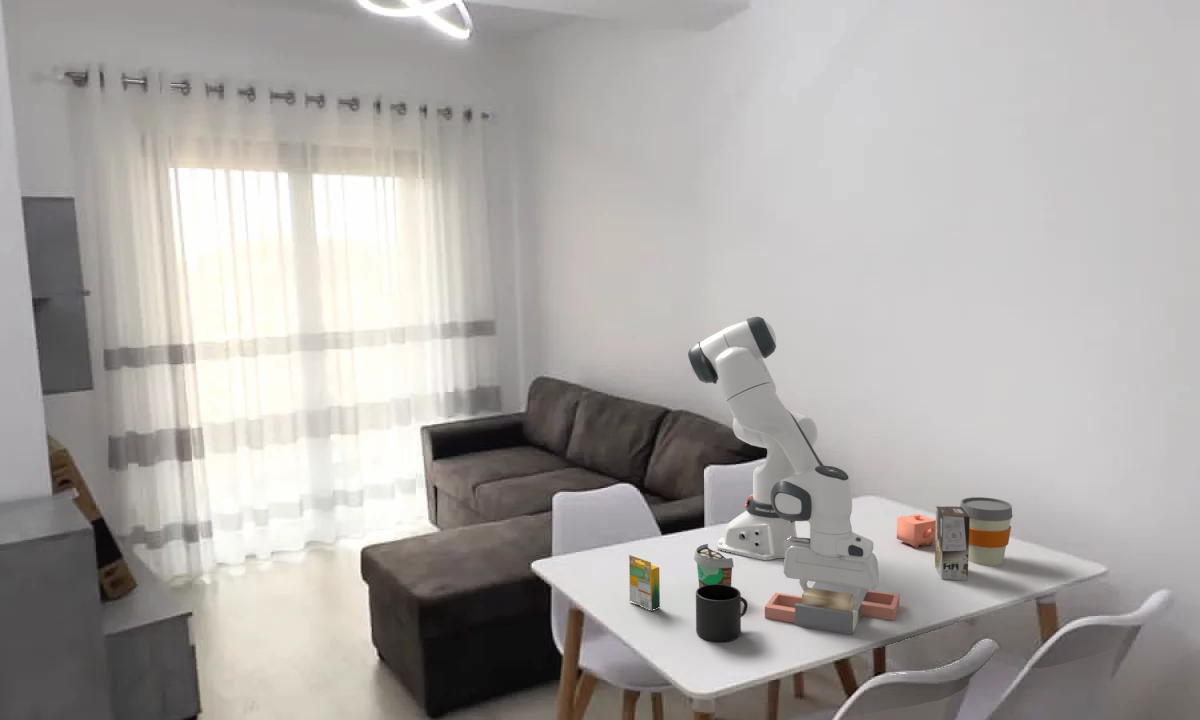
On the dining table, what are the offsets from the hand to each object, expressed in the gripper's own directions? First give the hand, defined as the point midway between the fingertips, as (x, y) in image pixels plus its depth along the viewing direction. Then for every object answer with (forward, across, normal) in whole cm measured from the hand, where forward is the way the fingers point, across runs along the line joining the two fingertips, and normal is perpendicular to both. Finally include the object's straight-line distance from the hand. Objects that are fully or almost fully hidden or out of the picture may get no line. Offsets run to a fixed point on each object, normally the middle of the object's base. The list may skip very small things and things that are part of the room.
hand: (830, 601), depth 186 cm
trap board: (+4, 0, +3) cm, 5 cm away
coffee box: (+4, +22, +39) cm, 45 cm away
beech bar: (+1, 0, -3) cm, 3 cm away
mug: (+4, -19, -16) cm, 25 cm away
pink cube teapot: (+4, +12, +59) cm, 60 cm away
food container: (+4, -29, +3) cm, 29 cm away
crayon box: (+4, -40, -10) cm, 42 cm away
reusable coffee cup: (+4, +29, +53) cm, 60 cm away
